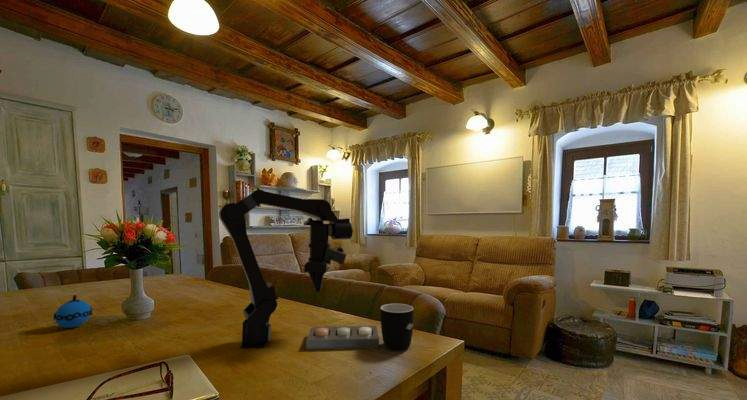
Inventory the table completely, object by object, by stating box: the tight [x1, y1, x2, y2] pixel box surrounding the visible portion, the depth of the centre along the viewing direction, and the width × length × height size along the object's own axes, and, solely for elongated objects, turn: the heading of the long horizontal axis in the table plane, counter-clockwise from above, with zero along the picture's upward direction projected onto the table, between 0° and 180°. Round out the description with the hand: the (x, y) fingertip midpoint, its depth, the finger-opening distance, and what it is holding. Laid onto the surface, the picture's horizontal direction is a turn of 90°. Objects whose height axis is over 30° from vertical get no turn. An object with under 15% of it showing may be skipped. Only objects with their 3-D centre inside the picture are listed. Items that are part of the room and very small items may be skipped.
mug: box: [379, 303, 415, 352], centre depth 84 cm, size 12×9×10 cm
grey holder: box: [305, 325, 380, 351], centre depth 86 cm, size 10×19×2 cm, turn 94°
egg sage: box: [337, 326, 350, 336], centre depth 86 cm, size 4×4×3 cm
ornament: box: [53, 294, 93, 329], centre depth 98 cm, size 9×9×10 cm
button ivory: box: [359, 327, 371, 335], centre depth 87 cm, size 4×4×3 cm
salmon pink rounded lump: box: [315, 328, 328, 336], centre depth 86 cm, size 4×4×3 cm
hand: (318, 291), depth 94 cm, fingers closed
